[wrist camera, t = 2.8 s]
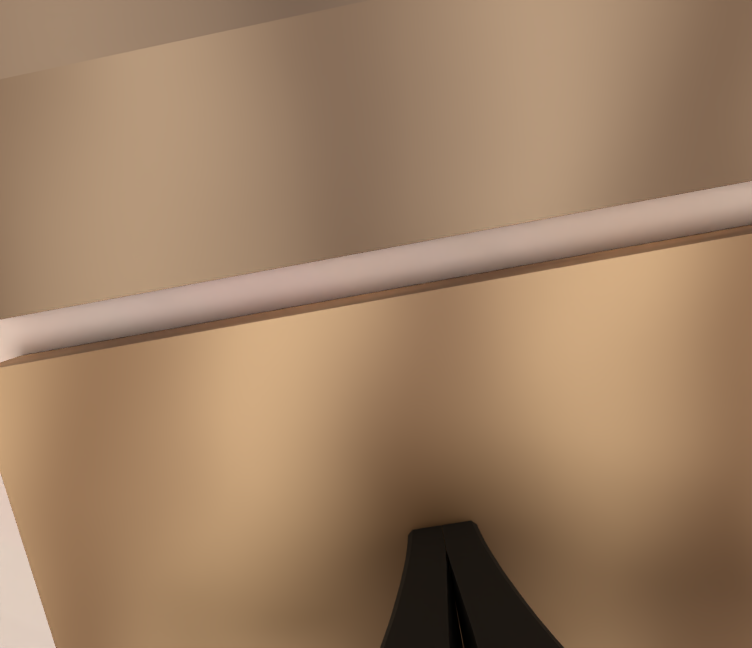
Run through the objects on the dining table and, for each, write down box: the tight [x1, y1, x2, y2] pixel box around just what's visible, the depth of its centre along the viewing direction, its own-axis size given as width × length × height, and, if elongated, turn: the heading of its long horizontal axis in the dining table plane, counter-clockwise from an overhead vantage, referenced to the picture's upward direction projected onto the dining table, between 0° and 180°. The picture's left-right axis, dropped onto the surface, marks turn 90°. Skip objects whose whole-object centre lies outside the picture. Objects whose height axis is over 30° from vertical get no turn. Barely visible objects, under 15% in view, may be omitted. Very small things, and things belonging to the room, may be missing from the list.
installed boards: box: [0, 0, 752, 319], centre depth 9 cm, size 18×8×2 cm, turn 101°
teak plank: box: [0, 225, 752, 648], centre depth 12 cm, size 18×10×2 cm, turn 101°
